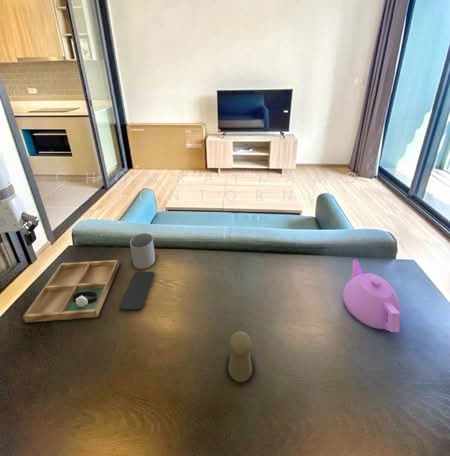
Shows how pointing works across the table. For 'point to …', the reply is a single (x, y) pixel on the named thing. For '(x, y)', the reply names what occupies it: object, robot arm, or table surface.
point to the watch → (82, 300)
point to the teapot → (372, 300)
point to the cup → (142, 251)
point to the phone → (137, 291)
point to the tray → (73, 291)
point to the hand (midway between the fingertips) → (15, 243)
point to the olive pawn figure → (240, 357)
